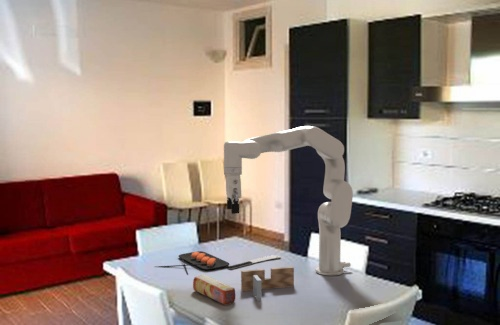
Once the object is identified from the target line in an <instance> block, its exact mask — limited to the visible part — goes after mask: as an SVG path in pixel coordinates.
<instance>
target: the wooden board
mask: <svg viewBox="0 0 500 325" xmlns="http://www.w3.org/2000/svg"><path fill="white" fill-rule="evenodd" d="M253 275H257V276H258V277H259V278H260V279H261V290H268V289H269V290H270V289H279V288H280V289H282V288H291V287H295V285H294V284H295V267H294V266H283V267H271V268H270V277H266V270H265V268H259V269H257V268H256V269H247V270H240V283H241V284H240V285H241V286H240V290H241V291H242V292H246V291H253Z"/></svg>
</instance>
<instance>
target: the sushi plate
mask: <svg viewBox="0 0 500 325" xmlns="http://www.w3.org/2000/svg"><path fill="white" fill-rule="evenodd" d="M178 258H180V259H181V260H182V263H183V264H179V265H176V264H174V265H158V266H157V265H156V266H154V268H171V267H172V268H174V267H184V270H185V273H186V275H187V276H189V273H188V272H189V271H188V270H187V267H188V266H195V267H198V268H199V269H202V270H209V271H210V270H215V269H218V268H225V267H228V266H230V263H229V262H228V261H226V260H224V259H221V258H220V257H217V256H214V255H212V254H210V253H208V252H205V251H202V250H201V251H200V250H198V251H192V252H187V253H180V254H179V255H178ZM185 262H186V263H189V264H185ZM186 266H187V267H186Z"/></svg>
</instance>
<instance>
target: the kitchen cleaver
mask: <svg viewBox="0 0 500 325" xmlns="http://www.w3.org/2000/svg"><path fill="white" fill-rule="evenodd" d="M266 256H267V257H266ZM266 256H262V257H263V258H262V257H257V258H253V259H250V260H246V261H244V262H242V263H237V264H233V265H228V266H227V269H228V270H230V271H232V270H235V269H239V268H240V269H241V268H242V267H243V268H244V267H247V266H251V265H253V264H256V263H259V262H260V263H261V262H264V261H265V262H266V261H269V260H270V261H271V260H273V259H274V260H275V259H280V258H282V256H281V255H274V254H271V256H269V255H266Z"/></svg>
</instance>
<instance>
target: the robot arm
mask: <svg viewBox="0 0 500 325" xmlns="http://www.w3.org/2000/svg"><path fill="white" fill-rule="evenodd" d="M306 146H307V147H308V146H309V147H311V148H313V149H315V151H316V153H317V154H318V156H320V157H321V159H322V160H323V162H324V164H325V170H324V171H325V172H324V180H323V187H322V188H323V190H322V191H323V195H324V196H325V198H327V199H329V200H330V201H326V202H323V203H321V204H320V206H319V207H318V210H317V220H318V229H319V231H318V233H319V234H318V266H316V267H315V268H314V269H315V272H316V274H319V275H322V276H330V277H331V276H339V275H342V274H344V271H345V270H344V269H345V268H350V267H351V263H350V262H346V261H341V246H342V245H341V238H342V237H341V236H342V235H341V229H342V228H344V227H346V226H347V225H348V223H349V221H350V219H351V214H352V206H353V198H354V193H353V188H352V186H351V184H350V183H349V182H348V181H345V172H346V169H345V168H346V165H345V160H344V158H343V157H344V156H343V155H344V153H345V146H344V144H343V143H342V142H341V141H340V140H339V139H338V138H335V136H332V135H331V134H329V133H327V132H326V131H324V130H323V129H321V128H319V127H317V126H313V125H312V126H311V125H304V126H298V127H295V128H292V129H287V130H283V131H278V132H274V133H269V134H265V135H261V136H260V135H259V136H255V137H250V138H247V139H244V140H242V141H238V140H237V141H236V140H234V141H233V140H229V141H225V142H224V144H223V175H225V176H226V177H225V178H226V179H225V194H226V196H227V197H226V209H227V210H231V214H236V215H237V214H240V199H241V198H242V181H241V180H242V179H241V175H243V165H242V164H243V161H242V160H243V159H246V160H247V159H249V160H255V159H257V158H259V157H260V156H261V154H264V153H276V152H277V153H279V152H280V153H281V152H286V151H291V150H294V149H298V148H303V147H306Z"/></svg>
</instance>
